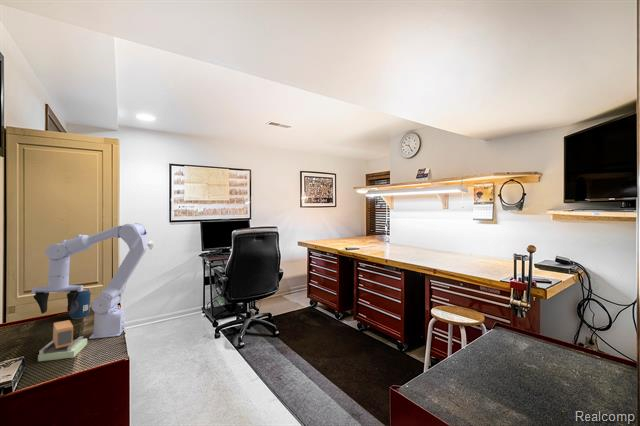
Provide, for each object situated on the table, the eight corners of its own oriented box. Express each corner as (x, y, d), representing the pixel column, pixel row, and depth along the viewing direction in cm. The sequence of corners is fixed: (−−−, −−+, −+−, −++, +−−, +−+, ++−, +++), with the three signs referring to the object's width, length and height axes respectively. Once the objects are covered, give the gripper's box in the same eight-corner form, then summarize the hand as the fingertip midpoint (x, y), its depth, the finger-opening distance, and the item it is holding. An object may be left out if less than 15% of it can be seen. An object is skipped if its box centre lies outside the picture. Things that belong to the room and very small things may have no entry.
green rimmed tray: (87, 343, 100) (87, 334, 100) (73, 357, 91) (74, 347, 91) (55, 347, 97) (55, 337, 97) (37, 361, 87) (38, 351, 88)
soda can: (65, 318, 123) (66, 291, 123) (82, 313, 129) (83, 287, 130) (76, 320, 121) (77, 292, 121) (93, 315, 127) (94, 288, 128)
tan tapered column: (68, 337, 98) (69, 319, 98) (72, 345, 92) (73, 326, 92) (52, 340, 95) (53, 322, 95) (56, 349, 89) (57, 330, 89)
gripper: (87, 272, 111) (85, 306, 111) (40, 273, 106) (38, 309, 106) (79, 276, 105) (77, 312, 105) (28, 277, 100) (26, 316, 99)
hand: (57, 311), depth 105 cm, fingers open, 7 cm apart
